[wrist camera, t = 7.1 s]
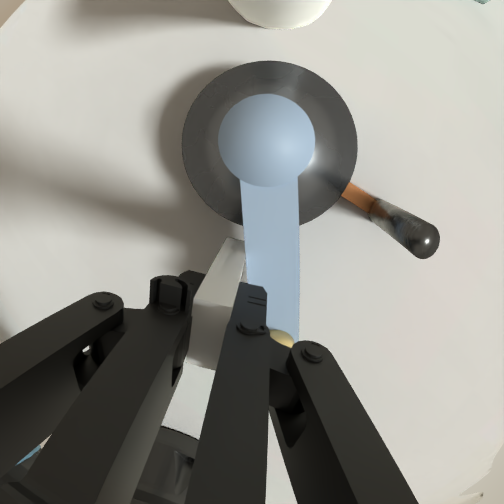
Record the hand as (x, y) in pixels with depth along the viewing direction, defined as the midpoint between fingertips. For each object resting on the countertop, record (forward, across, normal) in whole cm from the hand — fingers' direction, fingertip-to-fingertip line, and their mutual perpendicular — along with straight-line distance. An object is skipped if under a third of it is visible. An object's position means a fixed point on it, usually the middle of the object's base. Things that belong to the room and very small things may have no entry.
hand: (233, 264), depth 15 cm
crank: (0, +2, +2) cm, 3 cm away
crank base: (+4, +2, +6) cm, 8 cm away
